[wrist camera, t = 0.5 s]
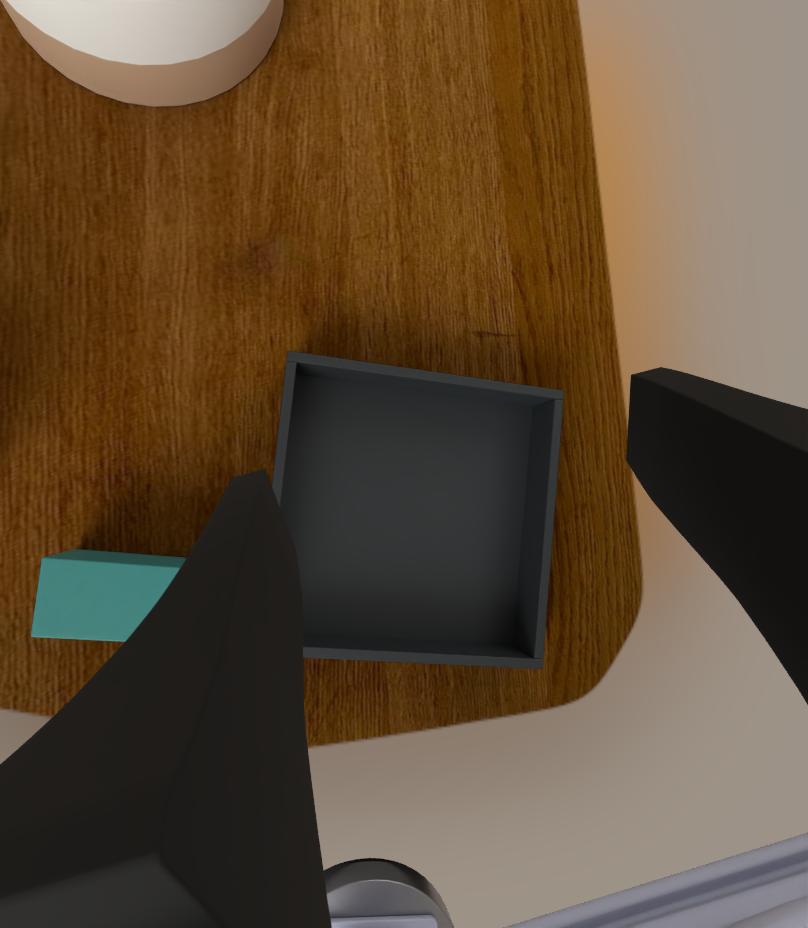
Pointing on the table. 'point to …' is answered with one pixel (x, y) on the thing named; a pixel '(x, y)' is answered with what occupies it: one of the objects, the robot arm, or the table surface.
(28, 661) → the table surface
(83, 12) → the bowl
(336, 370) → the dark grey square tray
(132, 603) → the teal block
